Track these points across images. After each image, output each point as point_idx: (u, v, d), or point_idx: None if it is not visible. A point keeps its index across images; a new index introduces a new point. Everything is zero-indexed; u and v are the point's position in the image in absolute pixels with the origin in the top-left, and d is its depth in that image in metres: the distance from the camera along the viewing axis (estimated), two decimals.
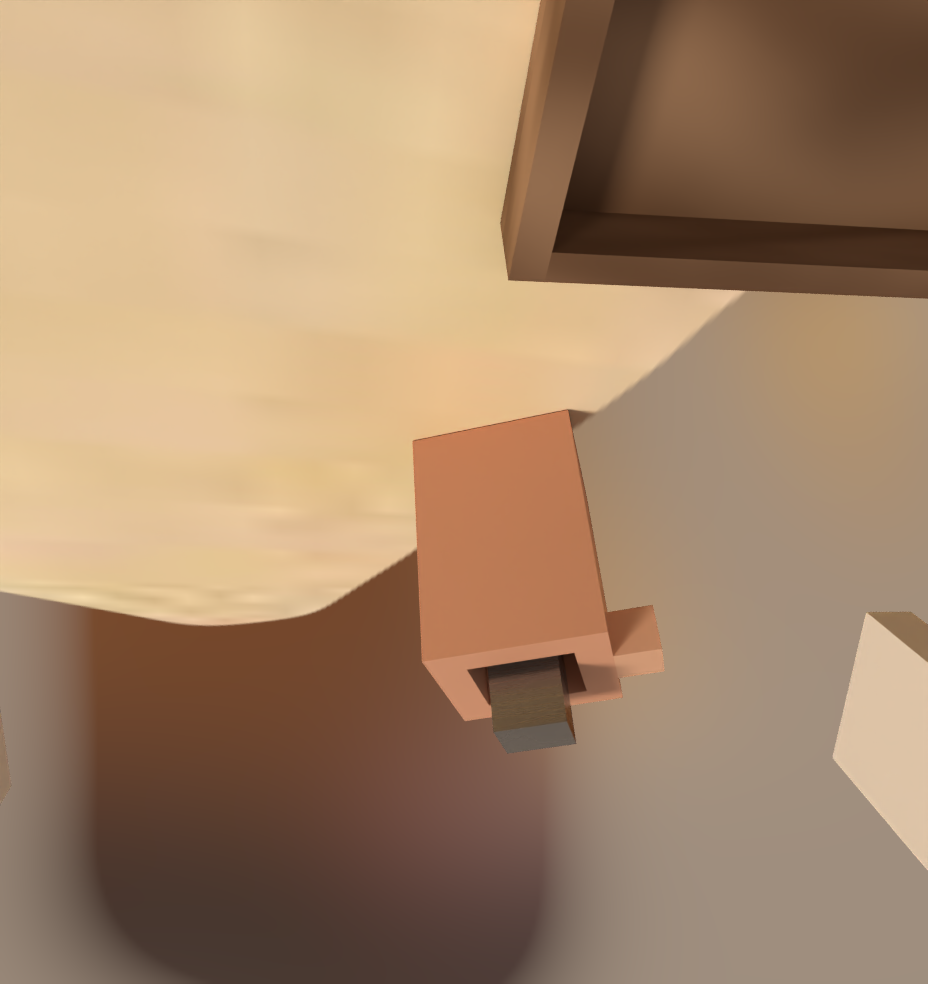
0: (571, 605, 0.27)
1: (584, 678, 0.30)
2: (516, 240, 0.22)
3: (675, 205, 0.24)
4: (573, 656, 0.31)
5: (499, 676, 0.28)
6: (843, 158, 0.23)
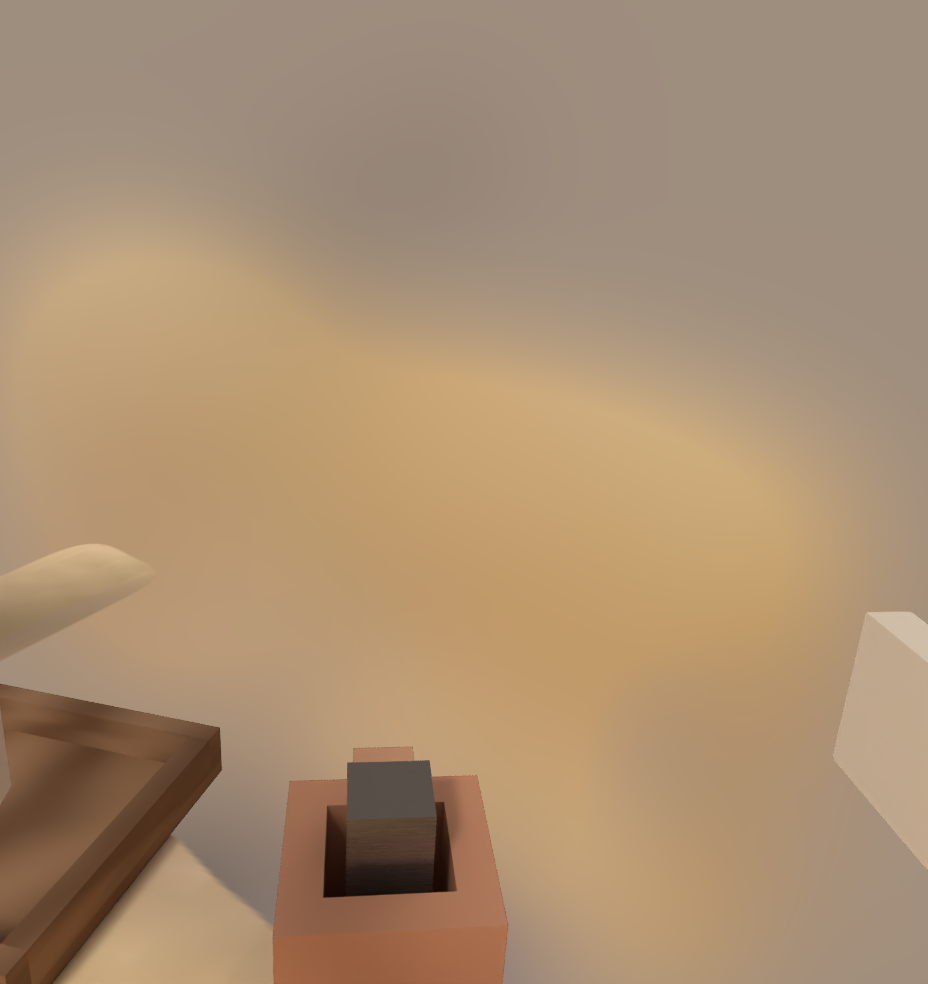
0: None
1: None
2: None
3: None
4: (442, 843, 0.27)
5: None
6: (95, 819, 0.36)
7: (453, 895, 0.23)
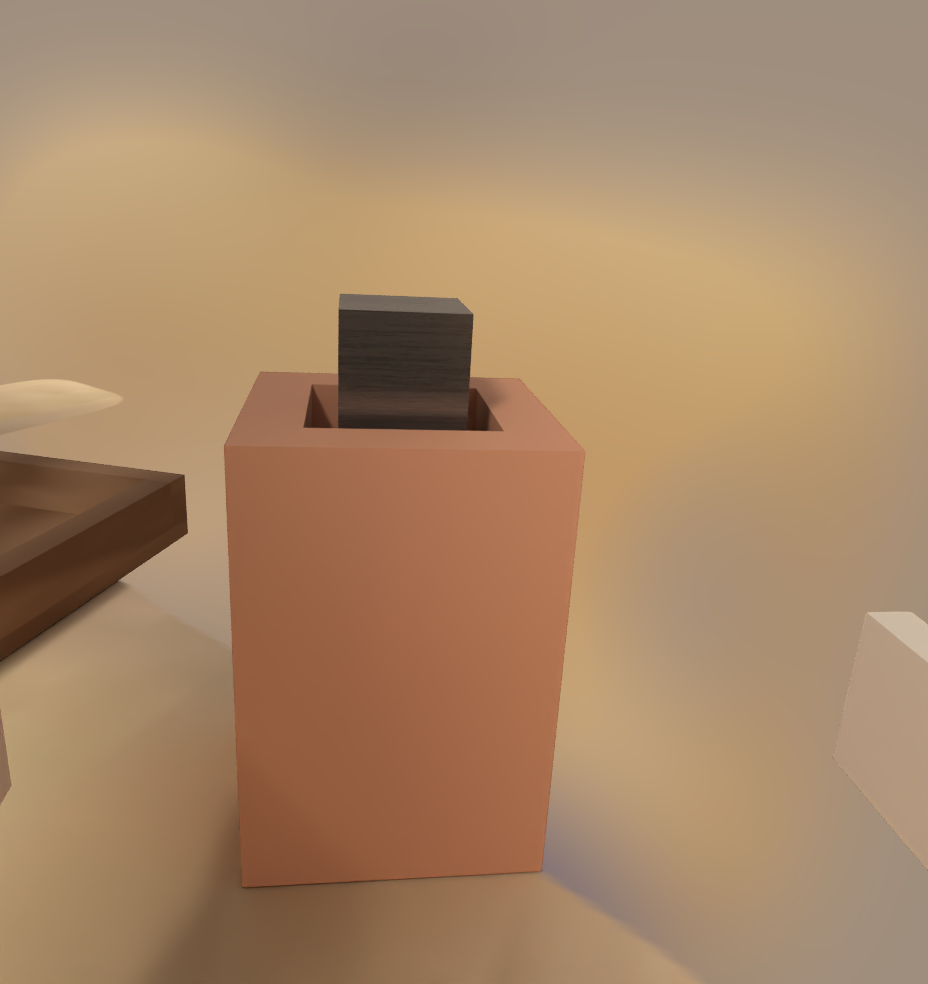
0: None
1: None
2: None
3: None
4: None
5: None
6: None
7: (499, 433, 0.15)
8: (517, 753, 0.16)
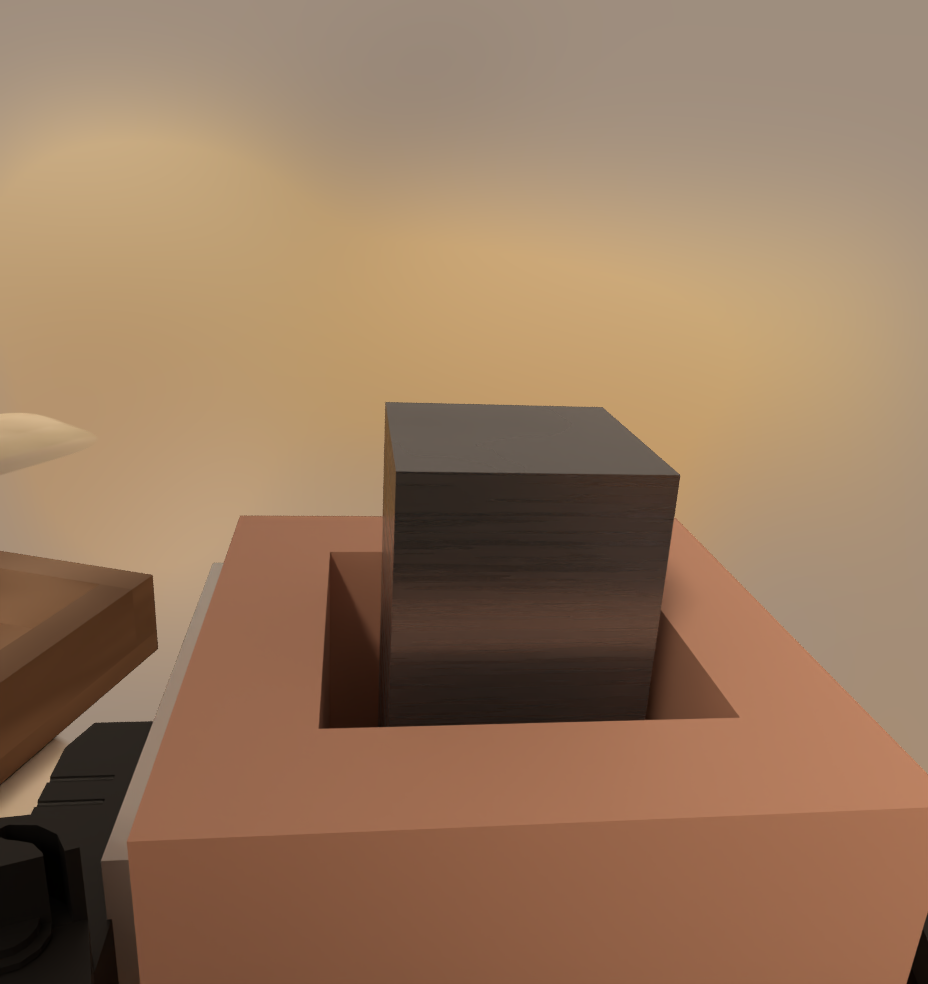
0: None
1: None
2: None
3: None
4: None
5: (388, 649, 0.08)
6: None
7: (734, 727, 0.07)
8: None
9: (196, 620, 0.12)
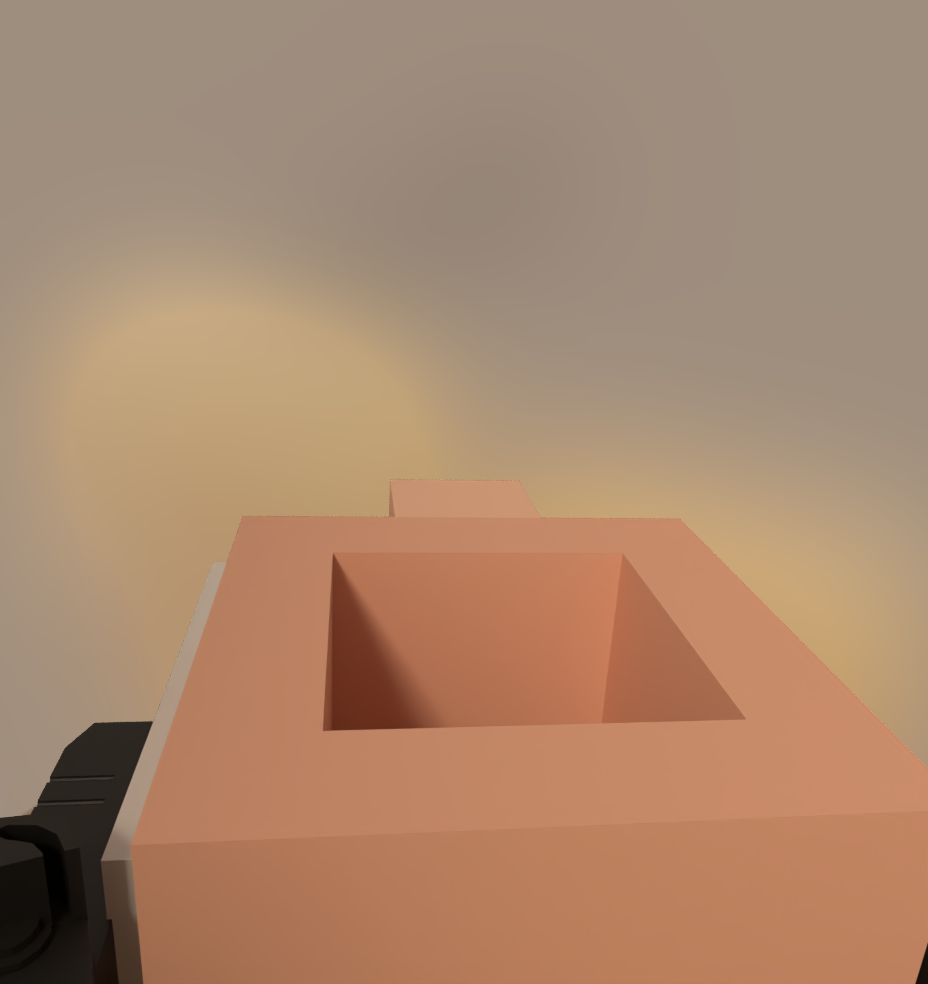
0: None
1: (523, 550, 0.11)
2: None
3: None
4: (616, 660, 0.11)
5: None
6: None
7: (740, 729, 0.07)
8: None
9: (196, 620, 0.12)
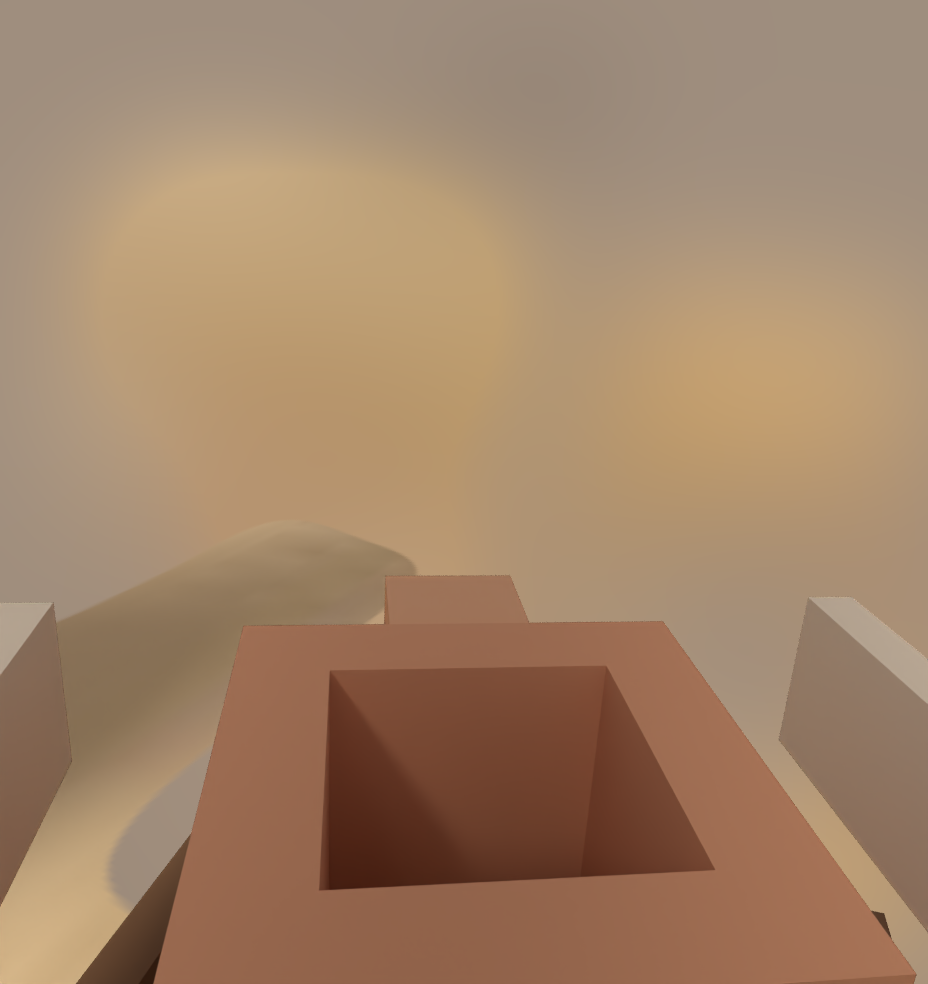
0: None
1: (512, 664, 0.11)
2: None
3: None
4: (600, 766, 0.11)
5: None
6: None
7: (709, 882, 0.08)
8: None
9: None
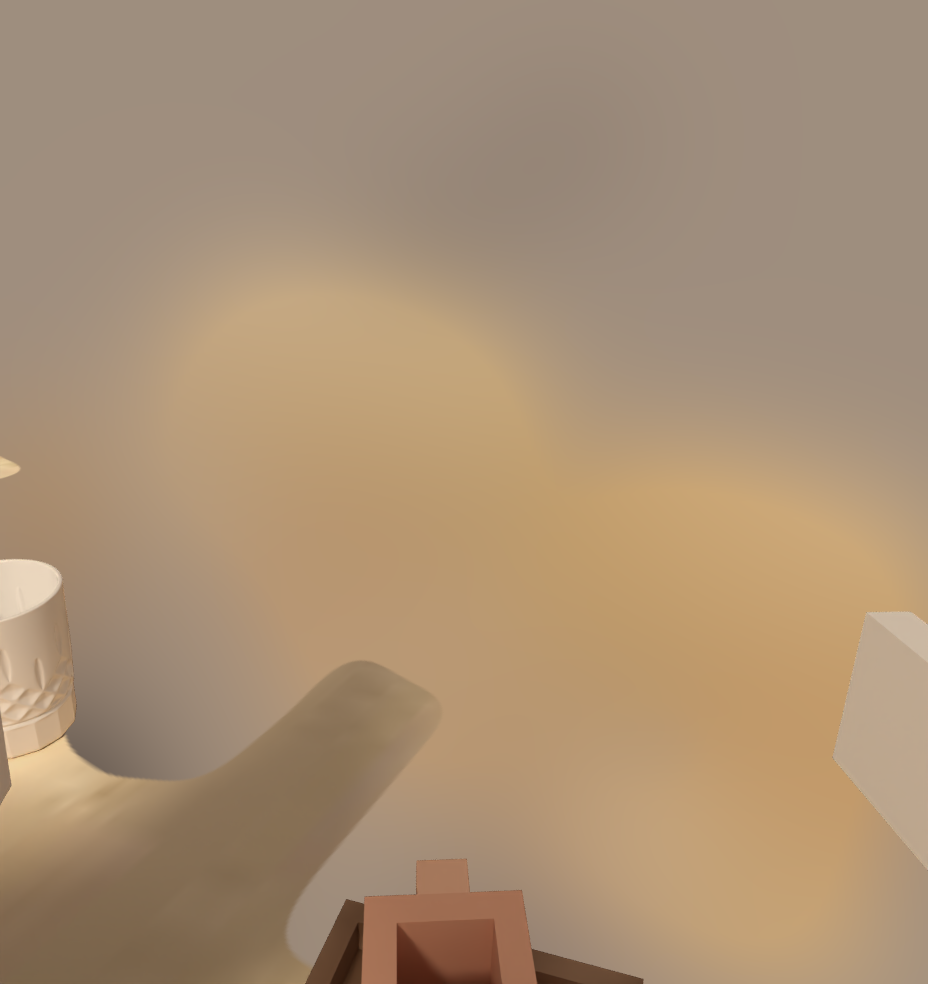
0: None
1: (460, 918, 0.31)
2: None
3: None
4: (493, 950, 0.32)
5: None
6: None
7: None
8: None
9: None
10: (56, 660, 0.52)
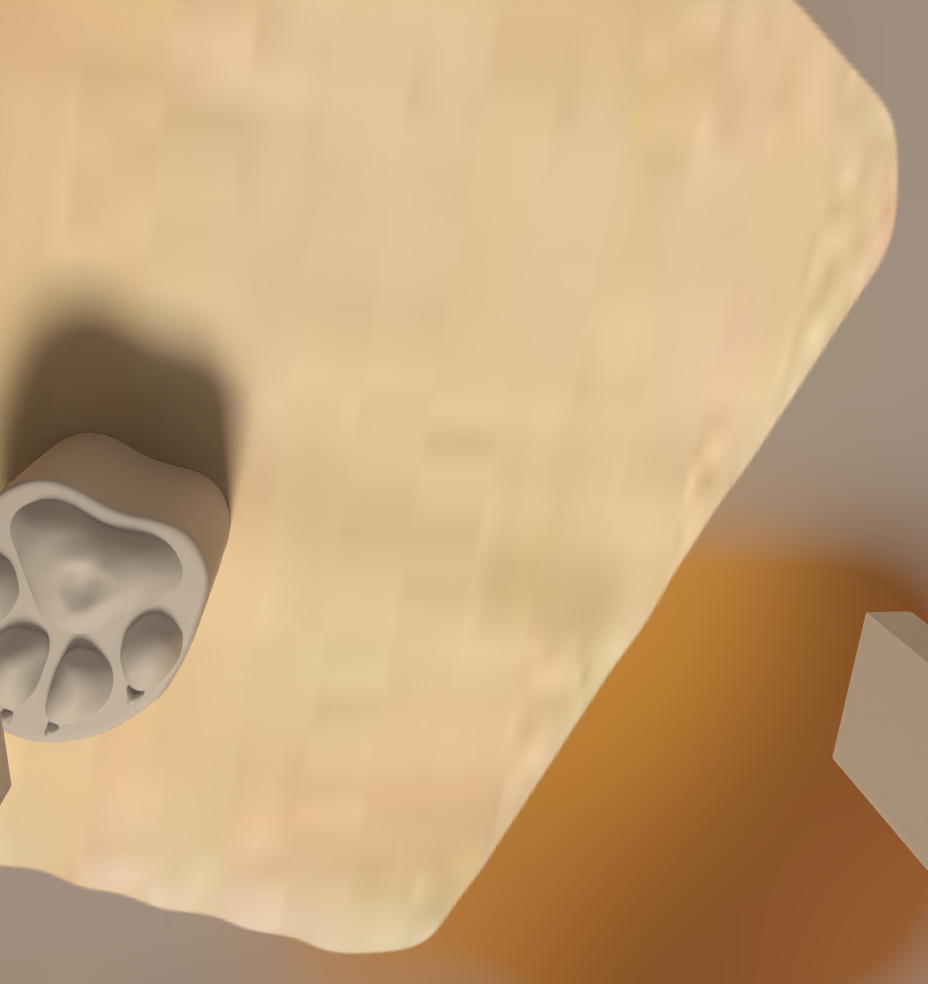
0: None
1: None
2: None
3: None
4: None
5: None
6: None
7: None
8: None
9: None
10: None
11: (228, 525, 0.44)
